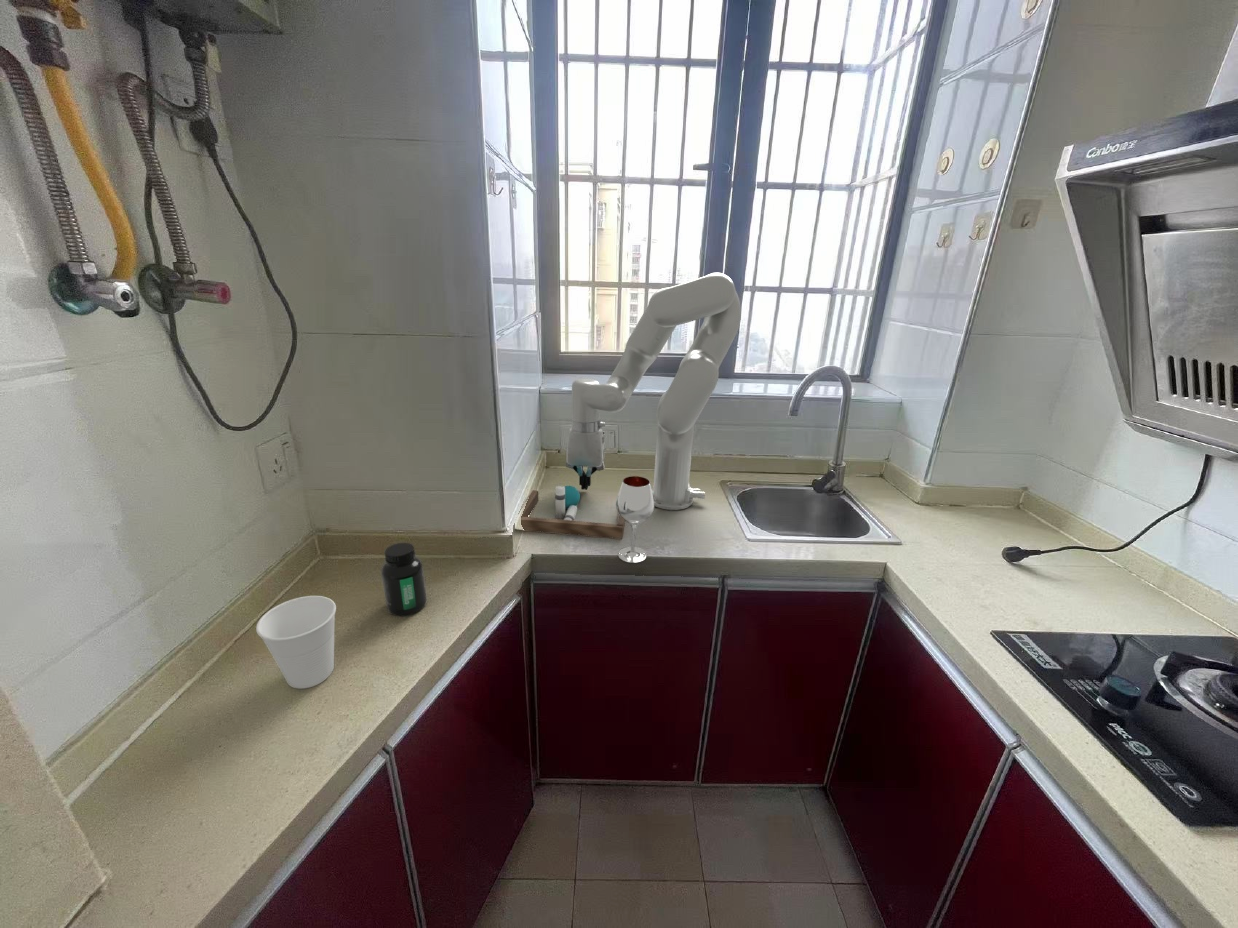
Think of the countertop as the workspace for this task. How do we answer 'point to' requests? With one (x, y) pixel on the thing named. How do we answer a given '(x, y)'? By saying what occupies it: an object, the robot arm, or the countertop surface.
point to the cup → (301, 639)
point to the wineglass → (634, 511)
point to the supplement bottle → (403, 580)
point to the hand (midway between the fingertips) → (585, 487)
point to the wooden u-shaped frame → (568, 524)
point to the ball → (571, 496)
